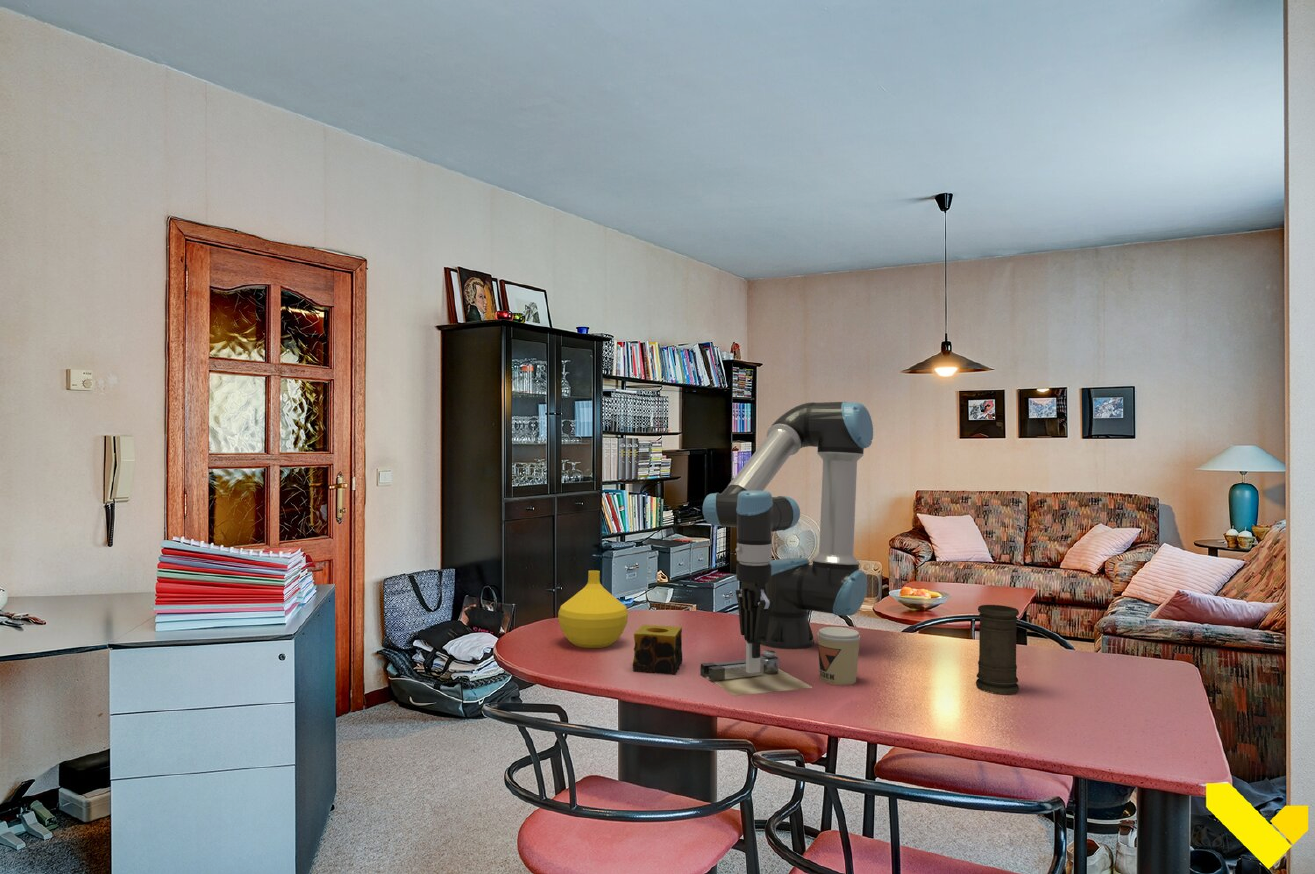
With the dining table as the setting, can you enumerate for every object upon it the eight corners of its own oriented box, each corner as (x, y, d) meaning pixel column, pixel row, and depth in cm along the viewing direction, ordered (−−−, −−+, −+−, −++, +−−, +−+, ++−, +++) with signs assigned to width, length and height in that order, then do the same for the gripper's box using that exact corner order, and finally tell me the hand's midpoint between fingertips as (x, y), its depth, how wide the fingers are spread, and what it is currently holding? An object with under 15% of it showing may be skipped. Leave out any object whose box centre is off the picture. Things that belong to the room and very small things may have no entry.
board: (774, 671, 192) (774, 666, 192) (813, 693, 176) (813, 687, 176) (700, 678, 185) (700, 673, 185) (733, 701, 169) (733, 695, 169)
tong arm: (770, 668, 190) (771, 649, 190) (780, 672, 186) (780, 654, 186) (703, 675, 182) (704, 656, 182) (712, 681, 179) (713, 661, 179)
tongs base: (771, 668, 191) (771, 654, 191) (781, 673, 186) (782, 659, 186) (700, 674, 184) (700, 660, 184) (709, 680, 180) (709, 666, 180)
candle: (675, 680, 184) (676, 636, 184) (631, 677, 186) (632, 633, 186) (683, 668, 194) (684, 626, 194) (641, 665, 196) (642, 623, 196)
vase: (588, 632, 228) (590, 563, 228) (641, 642, 217) (642, 570, 217) (543, 644, 213) (544, 571, 213) (596, 656, 202) (598, 579, 202)
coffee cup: (808, 681, 185) (809, 628, 185) (842, 677, 189) (843, 625, 189) (832, 693, 176) (833, 637, 176) (868, 688, 180) (869, 634, 180)
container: (1000, 697, 176) (1001, 613, 176) (966, 685, 184) (968, 605, 184) (1028, 691, 180) (1029, 610, 180) (994, 680, 188) (995, 602, 188)
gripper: (725, 558, 181) (724, 664, 181) (752, 568, 169) (751, 682, 169) (755, 557, 184) (754, 661, 184) (784, 566, 171) (783, 678, 172)
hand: (753, 671), depth 176 cm, fingers closed
